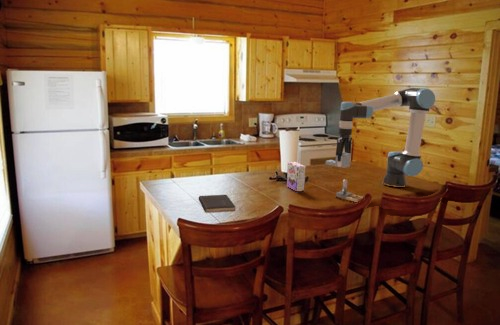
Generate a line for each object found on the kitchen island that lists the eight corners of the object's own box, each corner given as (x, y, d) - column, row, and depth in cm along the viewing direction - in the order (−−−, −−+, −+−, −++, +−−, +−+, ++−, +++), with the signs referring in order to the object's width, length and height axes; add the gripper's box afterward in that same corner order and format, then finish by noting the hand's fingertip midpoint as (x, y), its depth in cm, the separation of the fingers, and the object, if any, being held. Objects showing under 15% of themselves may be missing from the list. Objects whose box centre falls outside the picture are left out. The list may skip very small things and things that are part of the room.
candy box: (286, 186, 258) (287, 161, 254) (294, 186, 260) (295, 161, 257) (296, 192, 245) (297, 166, 242) (304, 192, 247) (306, 165, 244)
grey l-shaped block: (330, 162, 252) (331, 150, 250) (349, 166, 243) (350, 153, 241) (325, 164, 247) (326, 151, 246) (344, 167, 238) (345, 154, 237)
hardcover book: (226, 198, 232) (226, 194, 231) (235, 210, 210) (235, 206, 210) (198, 199, 227) (198, 195, 227) (205, 212, 206) (205, 208, 205)
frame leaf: (353, 197, 238) (353, 193, 237) (363, 200, 233) (364, 196, 233) (345, 200, 231) (345, 196, 231) (356, 203, 227) (357, 199, 226)
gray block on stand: (341, 195, 242) (343, 177, 239) (352, 197, 237) (353, 179, 235) (335, 197, 236) (337, 179, 234) (346, 200, 232) (347, 181, 230)
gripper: (348, 126, 248) (345, 162, 252) (331, 128, 234) (328, 166, 238) (359, 127, 243) (356, 164, 247) (342, 129, 229) (339, 169, 233)
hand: (342, 165), depth 243 cm, fingers closed on grey l-shaped block, 6 cm apart
